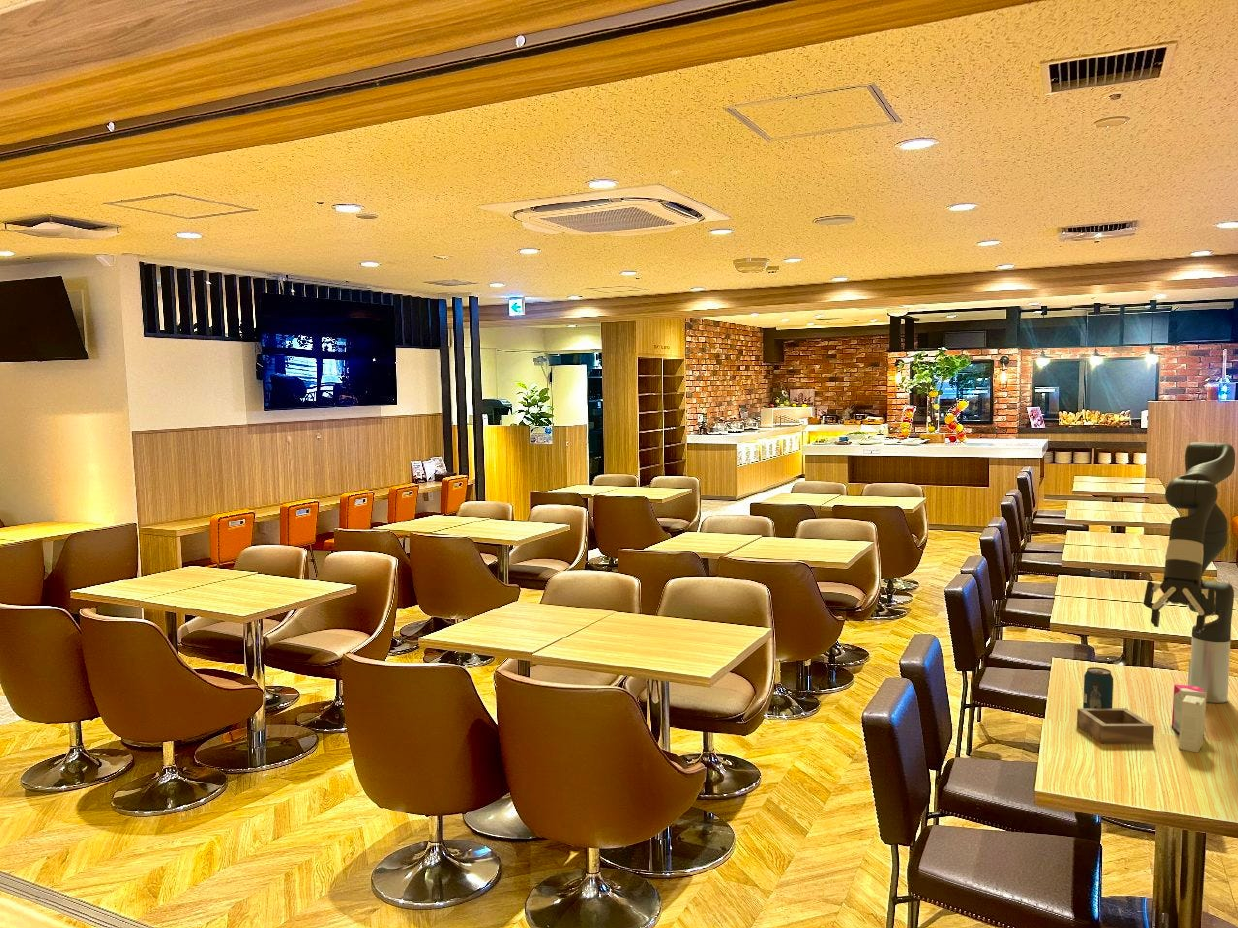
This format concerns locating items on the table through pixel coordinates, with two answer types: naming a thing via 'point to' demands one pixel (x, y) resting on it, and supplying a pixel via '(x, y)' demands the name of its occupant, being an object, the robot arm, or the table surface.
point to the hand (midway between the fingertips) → (1176, 629)
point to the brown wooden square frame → (1115, 726)
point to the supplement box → (1179, 696)
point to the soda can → (1098, 688)
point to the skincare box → (1192, 723)
